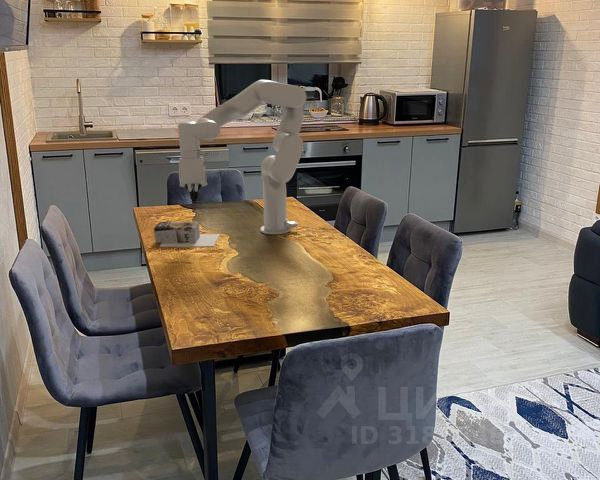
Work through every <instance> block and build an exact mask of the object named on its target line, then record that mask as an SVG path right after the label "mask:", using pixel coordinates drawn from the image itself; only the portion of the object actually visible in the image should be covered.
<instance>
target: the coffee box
mask: <svg viewBox="0 0 600 480" xmlns="http://www.w3.org/2000/svg"><path fill="white" fill-rule="evenodd" d="M153 232H154V233H153V234H154V240H155V244H156V243H157V244H162V243H196V241H197V240H198V238H199V237H200V234H201V233H200V222H198V221H159V223H157V224H156V225H155V227H154V228H153Z"/></svg>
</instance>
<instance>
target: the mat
mask: <svg viewBox="0 0 600 480" xmlns="http://www.w3.org/2000/svg"><path fill="white" fill-rule="evenodd" d="M220 235H221V234H220V233H200V237H199V238H198V240H197V241H196V243H160V244H159V247H160V248H161V247H162V248H163V247H165V248H167V247H169V248H171V247H172V248H176V247H177V248H183V247H184V248H185V247H187V248H191V247H192V248H213V247H215V245H216V243H217V241H218V239H219V238H220Z"/></svg>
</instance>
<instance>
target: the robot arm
mask: <svg viewBox="0 0 600 480" xmlns="http://www.w3.org/2000/svg"><path fill="white" fill-rule="evenodd" d="M306 101H307V93H306V91H305V89H304V88H302V87H301V86H299V85H296V84H295V85H293V84H288V83H282V82H277V81H273V80H269V79H259V80H257V81H255V82H253V83H251V84H250V85H249V86H247V87H246V88H245V89H243V90H242V91H241V92H239V93H238V94H236V95H235V96H234V97H231V98H230V99H228V100H227V101H225V102H223V103H221V104H220V105H218V106H216V107H214V108H213V109H211V110H210V111H208V112H207V113H206V114H204V115H203V116H201V117H200V118H199V119H198V120H197V121H191V120H186V121H180V122H179V123H178V125H177V131H178V132H177V133H178V140H179V149H180V150H179V151H180V158H179V160H178V180H179V187H181V188H185V189H186V190H187V191H188V192H189V198H190V200H191V202H192V203H193V202H197V201H198V200H199V199H200V197H199V196H200V195H199V190H200V189H201V188H202V187H207V185H208V182H207V181H208V180H207V168H206V164H205V160H204V157H203V156H202V155H205V150H202V149H201V147H200V146H201V142H200V141H213V140H215V139H218V137H219V136H220V134H221V128H222V127H223V126H225V125H226V124H228V123H230V122H233V121H234V122H235V121H238V120H241V119H243V118H245V117H247V116H248V115H249V114H251V113H253V112H254V111H255V110H256V109H258V108H259V107H260V106H262V105H264V104H268V105H269V104H270V105H273V106H274V105H275V106H279V107H281V111H282V115H281V120H280V122H279V124H278V128H277V130H276V132H275V135H274V137H273V140H272V147H273V150H274V151H275V152H277V153H276V154H277V155H274V154H272V155H268V156H266V157H265V158H264V159H263V160H262V162H261V166H260V173H261V180H262V188H263V190H262V193H263V194H262V195H263V225H262V226H261V227H260V233H262V234H265V235H271V236H272V235H274V236H275V235H286V234H288V233H289V232H291V228H298V222H295V221H289V218H287V213H288V212H287V184H286V183H288V182H289V181H290V180H291V179H292V178H293V176H294V174H295V172H296V170H297V167H298V164H299V162H300V159H301V156H302V154H303V151H304V141H303V139H302V137H301V136H300V135H299V133H300V132H301V131H300V130H301V128H302V124H303V121H304V109H303V106H304V105H305V103H306ZM193 185H194V187H193Z"/></svg>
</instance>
